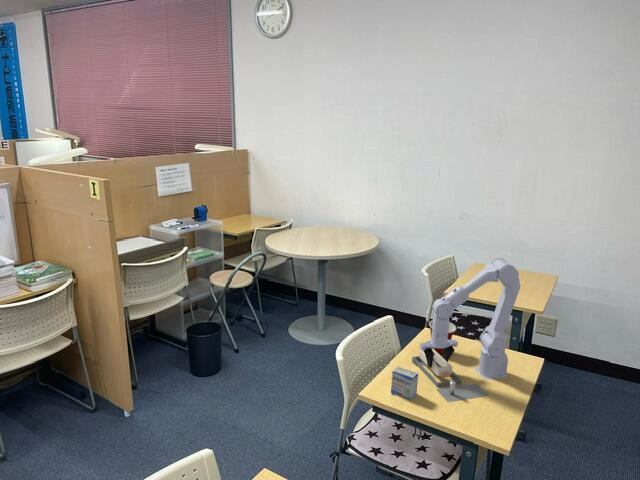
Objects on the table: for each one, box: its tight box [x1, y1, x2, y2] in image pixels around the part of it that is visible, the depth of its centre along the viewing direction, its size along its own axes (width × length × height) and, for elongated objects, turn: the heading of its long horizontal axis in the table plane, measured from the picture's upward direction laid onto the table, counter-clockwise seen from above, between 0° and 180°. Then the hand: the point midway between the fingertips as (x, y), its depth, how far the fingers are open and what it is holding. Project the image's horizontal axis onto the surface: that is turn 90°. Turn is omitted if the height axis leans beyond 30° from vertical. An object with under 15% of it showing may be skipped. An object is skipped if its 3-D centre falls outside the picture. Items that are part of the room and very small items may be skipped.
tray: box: [411, 355, 463, 388], centre depth 176 cm, size 10×20×2 cm, turn 15°
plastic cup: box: [428, 319, 457, 356], centre depth 191 cm, size 11×11×12 cm
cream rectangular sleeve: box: [419, 349, 453, 379], centre depth 175 cm, size 16×6×3 cm, turn 16°
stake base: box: [435, 378, 490, 403], centre depth 162 cm, size 16×8×6 cm, turn 105°
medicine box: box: [390, 366, 419, 400], centre depth 161 cm, size 8×4×9 cm, turn 55°
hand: (436, 365), depth 175 cm, fingers closed on cream rectangular sleeve, 6 cm apart
